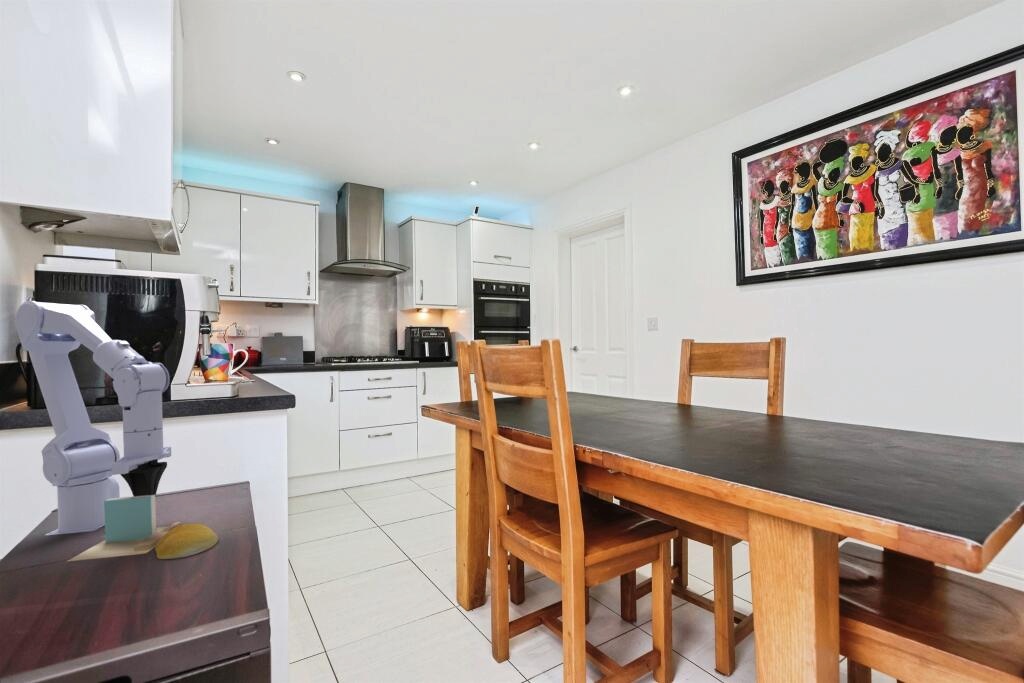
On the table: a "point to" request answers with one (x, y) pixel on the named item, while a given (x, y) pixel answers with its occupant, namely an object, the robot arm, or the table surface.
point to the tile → (129, 518)
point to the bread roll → (185, 541)
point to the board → (112, 549)
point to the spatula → (154, 538)
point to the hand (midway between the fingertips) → (145, 505)
